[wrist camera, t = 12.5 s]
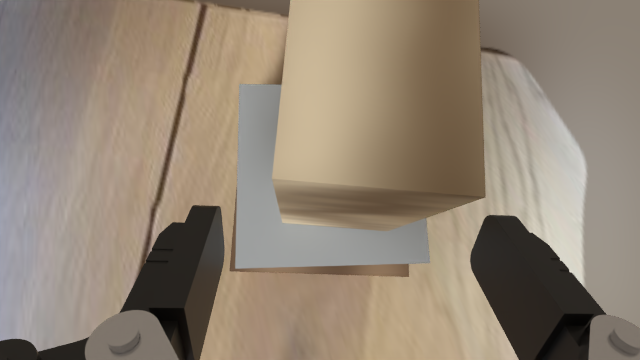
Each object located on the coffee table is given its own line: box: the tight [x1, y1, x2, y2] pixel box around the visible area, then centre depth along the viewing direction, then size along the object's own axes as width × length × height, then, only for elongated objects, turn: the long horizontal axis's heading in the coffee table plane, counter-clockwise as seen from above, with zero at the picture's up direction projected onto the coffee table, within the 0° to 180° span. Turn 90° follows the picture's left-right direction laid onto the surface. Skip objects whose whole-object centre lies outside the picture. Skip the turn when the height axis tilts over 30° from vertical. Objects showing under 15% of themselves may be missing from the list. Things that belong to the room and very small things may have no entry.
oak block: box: [272, 0, 485, 231], centre depth 15 cm, size 6×6×10 cm
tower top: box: [235, 84, 430, 269], centre depth 22 cm, size 10×10×4 cm
